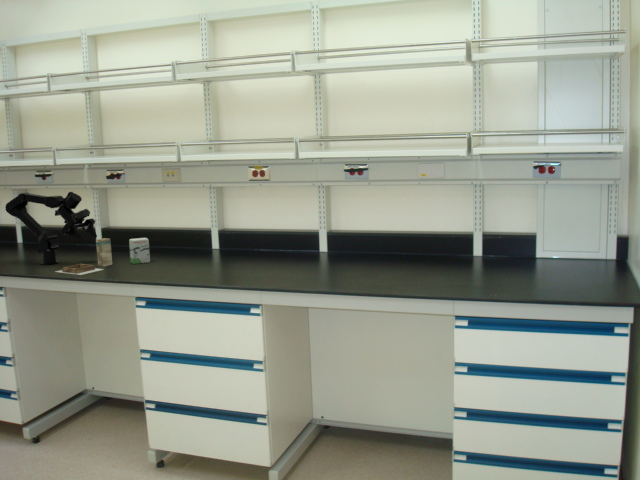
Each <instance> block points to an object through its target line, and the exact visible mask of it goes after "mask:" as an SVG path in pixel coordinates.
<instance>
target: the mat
mask: <svg viewBox="0 0 640 480" xmlns="http://www.w3.org/2000/svg"><path fill="white" fill-rule="evenodd" d="M103 270H105V268H104V269H103V268H96V267H95V270H91V271H86V272H82V273H78V274H75V273H67V272H62V269H61V270H60V269H59V270H56V271H54V272H55V273H60V274H61V273H63V274H71V275H79V276H82V275H87V274H91V273H96V272H99V271H103Z"/></svg>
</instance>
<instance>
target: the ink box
mask: <svg viewBox="0 0 640 480" xmlns="http://www.w3.org/2000/svg"><path fill="white" fill-rule="evenodd" d="M128 244H129V259H130V260H129V261H130V264H133V265H135V264H136V265H137V264H144V263H145V264H146V263H150V262H151V257H150V255H151V254H150V240H149V238H148V237H138V238H130V239H129V240H128Z"/></svg>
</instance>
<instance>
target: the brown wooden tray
mask: <svg viewBox="0 0 640 480" xmlns="http://www.w3.org/2000/svg"><path fill="white" fill-rule="evenodd" d="M95 266H96V265H95V264H86V263H77V264H73V265H68V266H63V267H61V270H62V272H67V273H66V274H69V273H75V274H74V275H77V274H78V273H82V272H86V271H91V270H95V268H96V267H95Z"/></svg>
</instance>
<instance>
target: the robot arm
mask: <svg viewBox="0 0 640 480" xmlns="http://www.w3.org/2000/svg"><path fill="white" fill-rule="evenodd" d="M82 200H83V199H82V196H81V195H79V194H77V193H75V192H74V191H69V192H68V193H67V195H66V196H65V197H63V196H62V195H48V196H47V195H41V194H35V193H29V192H21V193H19V194H18V195H17V196H16V197H14V198H12V199H11V200H9V202H7V203H6V204H5V211H6V213H8V214H9V215H10V216H12V217H15V218H17V219H19V221H21V222H22V223H23V224H24V225H25V226H26V227H27V228H28V230H30V231H31V232H32V233H33V234H34V235H35V236H36V237H37V239H38V243H39V245H38V247H37V248H36V250H37V252H38V253H40V254H41V258H42V259H41V261H42V262H40V263H39V265H46V266H48V265H54V264H59V263H60V261H58V260H57V255H56V251H58V250H59V246H60V244H61V242H60V241H61V240H60V238H59V236H58V235H57V234H56V233H55V232H54V231H51V230H50V231H47V230H46V229H45V228H44V227H43V226H41V224H40V223H39V222H38V221H36V219H35V218H34V217H33V216H31V214H29V212H28V209H27V206H28V204H29V203H34V204H40V205H43V206H44V207H47V208H50V209H55V210H54V217H57V216H60V217H61V218H62V219H63V220H64V221H63V223H64V225H63V227H62V228H61V229H60V230H61V233H62V234H63V235H64V236H65V235H66V236H69V237H72V238H74V239H78V240H80V241H82V242H83V241H85V238H84V236H83V235H82V234H81V232H80V231H79V230H78V229H82V230H83V231H84V232H85V233H87V234H88V235H90V236H91V237H93V238H95V239H96V238H98V235H97V233H96V231H95V228H94V226H95V223H96V220H95V219H94V218H88V217H90V215H91V212H90V210H89V209H88V208H84V209H81V210H79V211H77V212H75V211H73V210H75V209H76V208H77V207H78V206H79V204H80V203H81V201H82ZM85 218H86V219H85Z"/></svg>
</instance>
